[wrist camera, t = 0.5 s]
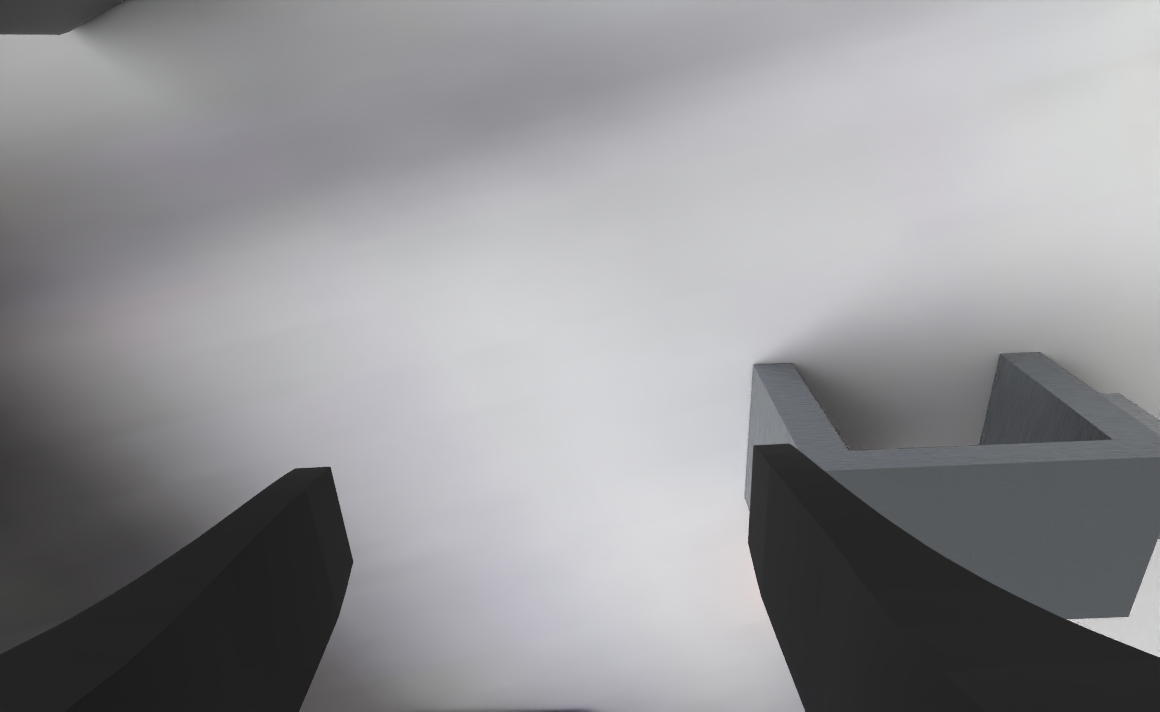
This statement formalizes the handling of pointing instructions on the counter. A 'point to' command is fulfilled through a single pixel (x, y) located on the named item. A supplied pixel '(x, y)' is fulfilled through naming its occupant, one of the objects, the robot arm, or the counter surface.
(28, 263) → the counter surface
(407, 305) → the counter surface
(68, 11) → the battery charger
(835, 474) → the housing
